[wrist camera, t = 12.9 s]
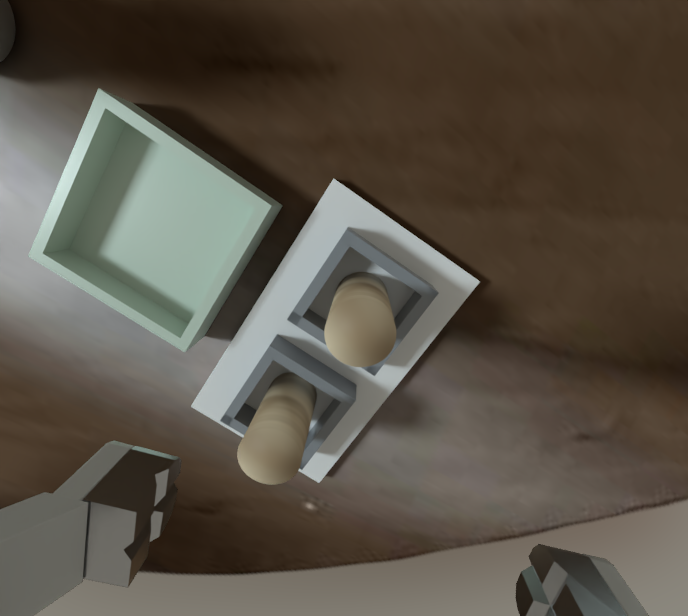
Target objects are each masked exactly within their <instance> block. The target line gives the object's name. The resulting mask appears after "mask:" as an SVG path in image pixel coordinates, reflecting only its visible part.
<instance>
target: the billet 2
mask: <svg viewBox="0 0 688 616" xmlns="http://www.w3.org/2000/svg"><path fill="white" fill-rule="evenodd" d="M324 336H325V341H326V345H327V347H328V349H329V351H330V352H331V353H332V355H333V356H334V357H335V358H336V359H338V360H339V361H341V362H342V363H344V364H347V365H350V366H354V367H368V366H372V365H375V364H377V363H379V362H381V361H382V360H383V359H385V358H386V357H387V356H388V355H389V353H390V352H391V351H392V349H393V347H394V344H395V341H396V326H395V322H394V318H393V313H392V309H391V305H390V301H389V297H388V293H387V289H386V287H385V285H384V283H383V282H382V281H381V280H380V279H379V278H378V277H377V276H375V275H373V274H371V273H368V272H355V273H352V274H350V275H348V276H346V277H345V278H344V279H342V281H341V282H340V283H339V285H338V287H337V289H336V292H335V295H334V299H333V302H332V305H331V308H330V312H329V315H328V318H327V321H326V325H325V330H324Z"/></svg>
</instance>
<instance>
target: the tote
mask: <svg viewBox="0 0 688 616" xmlns="http://www.w3.org/2000/svg"><path fill="white" fill-rule="evenodd" d="M282 206H283V205H281V204H280V203H278V202H277V201H275V200H274V199H273V198H271V197H270V196H268V195H267V194H265V193H264V192H262V191H261V190H259V189H258V188H256V187H255V186H254V185H252V184H251V183H249V182H248V181H246V180H245V179H243V178H242V177H240V176H239V175H237V174H236V173H234V172H233V171H232V170H230V169H229V168H227V167H226V166H224V165H223V164H221V163H220V162H218V161H217V160H215V159H214V158H213V157H211V156H210V155H208V154H207V153H205V152H204V151H202V150H201V149H199V148H198V147H196V146H195V145H193V144H192V143H191V142H189V141H188V140H186V139H185V138H183V137H182V136H180V135H179V134H177V133H176V132H174V131H173V130H172V129H170V128H169V127H167V126H166V125H164V124H163V123H161V122H160V121H158V120H157V119H155V118H154V117H153V116H151V115H150V114H148V113H147V112H145V111H144V110H142V109H141V108H139V107H138V106H136V105H135V104H133V103H132V102H130V101H127V100H125V99H123V98H120V97H118V96H116V95H113V94H111V93H109V92H107V91H104V90H102V89H100V88H99V89H98V91H97V94H96V96H95V98H94V101H93V103H92V105H91V108H90V110H89V113H88V115H87V117H86V120H85V122H84V125H83V127H82V129H81V132H80V134H79V136H78V139H77V141H76V144H75V146H74V148H73V151H72V153H71V155H70V158H69V160H68V163H67V165H66V167H65V170H64V172H63V174H62V177H61V179H60V182H59V184H58V186H57V189H56V191H55V193H54V196H53V198H52V201H51V203H50V205H49V208H48V210H47V212H46V215H45V217H44V220H43V222H42V224H41V227H40V229H39V231H38V234H37V236H36V239H35V241H34V243H33V246H32V248H31V250H30V253H29V255H28V257H30V258H32V259H33V260H35V261H36V262H38V263H40V264H41V265H43V266H45V267H46V268H48V269H49V270H51V271H53V272H54V273H56V274H58V275H59V276H61V277H63V278H64V279H66V280H67V281H69V282H71V283H72V284H74V285H76V286H77V287H79V288H80V289H82V290H84V291H85V292H87V293H89V294H90V295H92V296H94V297H95V298H97V299H98V300H100V301H102V302H103V303H105V304H107V305H108V306H110V307H111V308H113V309H115V310H116V311H118V312H120V313H121V314H123V315H125V316H126V317H128V318H129V319H131V320H133V321H134V322H136V323H138V324H139V325H141V326H143V327H144V328H146V329H147V330H149V331H151V332H152V333H154V334H156V335H157V336H159V337H160V338H162V339H164V340H165V341H167V342H169V343H170V344H172V345H174V346H175V347H177V348H178V349H180V350H182V351H183V352H186V351H187V350H189V349H190V348H191V347H192V346H193V345H195V344H196V343H197V342H198V341H199V340H201V339H202V338H203V337H204V336H205V334H206V333H207V331H208V329H209V328H210V326H211V324H212V323H213V321H214V319H215V318H216V316H217V314H218V313H219V311H220V309H221V308H222V306H223V304H224V303H225V301H226V299H227V298H228V296H229V294H230V293H231V291H232V289H233V288H234V286H235V284H236V283H237V281H238V279H239V278H240V276H241V274H242V273H243V271H244V269H245V268H246V266H247V264H248V263H249V261H250V259H251V258H252V256H253V254H254V253H255V251H256V249H257V248H258V246H259V244H260V243H261V241H262V239H263V238H264V236H265V234H266V233H267V231H268V229H269V228H270V226H271V225H272V223H273V221H274V220H275V218H276V216H277V215H278V213H279V211H280V210H281V208H282Z"/></svg>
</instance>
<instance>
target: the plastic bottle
mask: <svg viewBox="0 0 688 616" xmlns="http://www.w3.org/2000/svg"><path fill="white" fill-rule="evenodd" d="M15 32H16V31H15V20H14V15H13V12H12V9H11V6H10V4H9V2H8V0H0V62H1V61H2V60H4V59H5V58H6V57H7V55H8V54H9V53H10V51H11V49H12V47H13V43H14V40H15Z"/></svg>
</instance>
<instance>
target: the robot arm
mask: <svg viewBox="0 0 688 616" xmlns="http://www.w3.org/2000/svg"><path fill="white" fill-rule="evenodd" d="M181 461H182V460H181V459H180V458H179V457H176V456H172V455H168V454H164V453H161V452H157V451H153V450H149V449H146V448H142V447H138V446H132V445H129V444H125V443H121V442H118V441H112V442H109V443H107V444H105V445H104V446H103V447H102V448H101V449H100V450H99V451H98V452H97V453H96V454H95V455H94V456H93V457H91V458H90V459H89V460H88V461H87V462H86V463H85V464H84V465H83V466H82V467H81V468H80V469H79V470H77V471H76V472H75V473H74V474H73V475H72V476H71V477H70V478H69V479H68V480H67V481H66V482H65V483H64V484H62V485H61V486H60V487H59V488H58V489H57V490H56V491H55V492H54V493H53V494H51V493H46V492H44V493H42V494H39V495H36V496H34V497H31V498H29V499H26V500H23V501H21V502H18V503H16V504H13V505H10V506H8V507H5V508H3V509H0V616H34V615H35V614H37V613H38V612H40V611H41V610H42V609H44V608H45V607H47V606H48V605H50V604H51V603H53V602H54V601H56V600H57V599H58V598H60V597H61V596H63V595H64V594H66V593H67V592H69V591H70V590H71V589H73V588H74V587H76V586H77V585H79V584H80V583H81V582H82V581H83V579H88V580H92V581H98V582H103V583H108V584H113V585H117V586H123V587H128V586H129V585H130V583H131V582H132V580H133V579H134V577H135V575H136V574H137V572H138V571H139V569H140V567H141V566H142V564H143V562H144V561H145V559H146V558H147V556H148V549H149V542H151V541H153V540H154V539H156V538H158V537H159V536H160V535H161V533H162V531H163V530H164V528H165V526H166V524H167V522H168V520H169V518H170V515H171V513H172V511H173V508H174V504H175V501H176V496H177V490H178V489H177V488H176V486H175V484H174V481H175V480H176V478H177V477H178V475H179V474H180V469H181ZM529 559H530V562H531V565H532V566H530V567H528V568H527V569H525V570H523V571H522V572H521V574H520V576H519V578H518V581H517V583H516V602H517V607H518V611H519V614H520V616H649V615H648V614H647V612H646V611H645V609H644V608H643V607H642V605H641V604H640V602H639V601H638V599H637V598H636V597H635V595H634V594H633V592H632V591H631V589H630V588H629V587H628V585H627V584H626V582H625V581H624V580H623V578H622V577H621V575H620V574H619V573H618V571H617V570H616V568H615V567H614V565H613V564H611V563H610V562H609V561H608V560H606V559H604V558H599V557H595V556H590V555H586V554H579V553H575V552H571V551H567V550H562V549H558V548H554V547H550V546H545V545H541V544H538V545H537V546H535V547H534V548H533V549H532V552H531V553H530V555H529Z"/></svg>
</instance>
